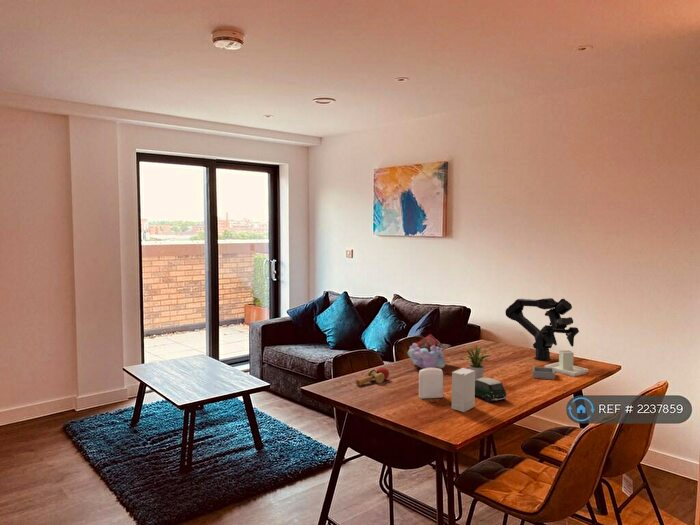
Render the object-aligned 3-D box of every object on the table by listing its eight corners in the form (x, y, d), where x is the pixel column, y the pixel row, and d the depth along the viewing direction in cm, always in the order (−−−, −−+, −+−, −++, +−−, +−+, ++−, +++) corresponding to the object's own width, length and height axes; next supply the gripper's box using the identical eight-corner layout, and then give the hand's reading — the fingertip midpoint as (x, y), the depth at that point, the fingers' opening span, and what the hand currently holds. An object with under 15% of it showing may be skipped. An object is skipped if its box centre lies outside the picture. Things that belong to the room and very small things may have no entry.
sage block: (558, 368, 254) (559, 350, 254) (568, 368, 254) (569, 350, 254) (562, 370, 249) (563, 352, 249) (573, 370, 249) (573, 352, 249)
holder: (532, 372, 249) (532, 366, 249) (553, 374, 246) (553, 368, 246) (532, 377, 240) (532, 371, 240) (554, 379, 237) (554, 373, 236)
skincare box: (461, 404, 202) (462, 367, 201) (475, 407, 198) (476, 370, 197) (450, 409, 196) (451, 371, 195) (464, 412, 192) (464, 374, 191)
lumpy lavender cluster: (407, 363, 247) (426, 332, 247) (397, 351, 268) (415, 323, 268) (441, 383, 250) (460, 352, 250) (429, 370, 272) (446, 341, 271)
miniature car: (479, 389, 222) (479, 371, 221) (509, 401, 206) (509, 382, 205) (462, 392, 218) (463, 374, 217) (492, 405, 202) (492, 385, 201)
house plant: (473, 385, 227) (474, 349, 226) (453, 378, 239) (454, 343, 238) (497, 381, 233) (498, 346, 232) (476, 374, 246) (477, 340, 245)
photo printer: (419, 399, 208) (420, 369, 207) (417, 396, 212) (417, 366, 212) (444, 398, 209) (444, 369, 208) (441, 395, 213) (441, 366, 213)
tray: (544, 369, 255) (544, 365, 255) (558, 366, 262) (558, 362, 261) (573, 376, 242) (574, 372, 241) (587, 372, 248) (588, 368, 248)
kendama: (365, 391, 223) (394, 378, 234) (362, 377, 223) (391, 365, 234) (354, 390, 229) (383, 377, 240) (351, 376, 229) (380, 364, 240)
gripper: (546, 309, 258) (555, 336, 248) (579, 312, 261) (589, 339, 252) (536, 321, 267) (544, 347, 257) (568, 323, 270) (577, 349, 260)
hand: (564, 345), depth 256 cm, fingers open, 9 cm apart
